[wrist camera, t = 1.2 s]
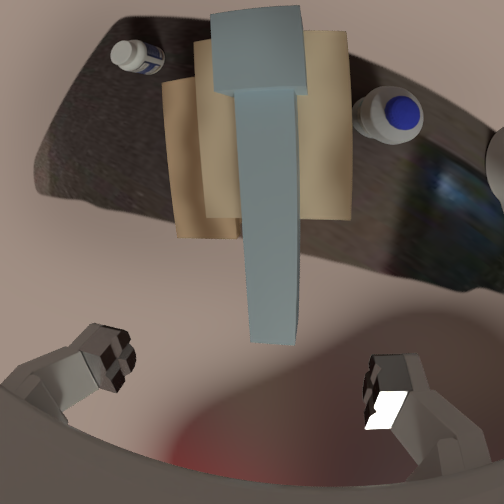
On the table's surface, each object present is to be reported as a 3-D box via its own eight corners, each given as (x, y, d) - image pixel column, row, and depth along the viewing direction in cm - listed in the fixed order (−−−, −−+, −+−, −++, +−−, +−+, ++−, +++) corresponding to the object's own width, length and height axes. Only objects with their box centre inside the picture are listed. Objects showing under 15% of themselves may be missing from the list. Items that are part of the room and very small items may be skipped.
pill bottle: (144, 45, 41) (113, 35, 32) (169, 49, 41) (140, 37, 32) (135, 72, 43) (102, 67, 35) (160, 77, 43) (128, 70, 34)
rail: (303, 30, 16) (299, 5, 12) (306, 319, 25) (303, 359, 21) (232, 35, 17) (210, 14, 13) (250, 316, 26) (236, 353, 22)
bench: (250, 86, 42) (225, 72, 29) (257, 208, 50) (236, 239, 37) (202, 91, 43) (161, 82, 31) (211, 208, 51) (177, 237, 39)
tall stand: (329, 81, 39) (346, 31, 16) (331, 169, 45) (350, 220, 21) (257, 83, 41) (193, 42, 18) (261, 169, 47) (206, 217, 23)
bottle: (339, 107, 40) (358, 94, 22) (376, 90, 38) (418, 68, 20) (361, 145, 42) (393, 160, 24) (397, 128, 40) (450, 133, 22)
